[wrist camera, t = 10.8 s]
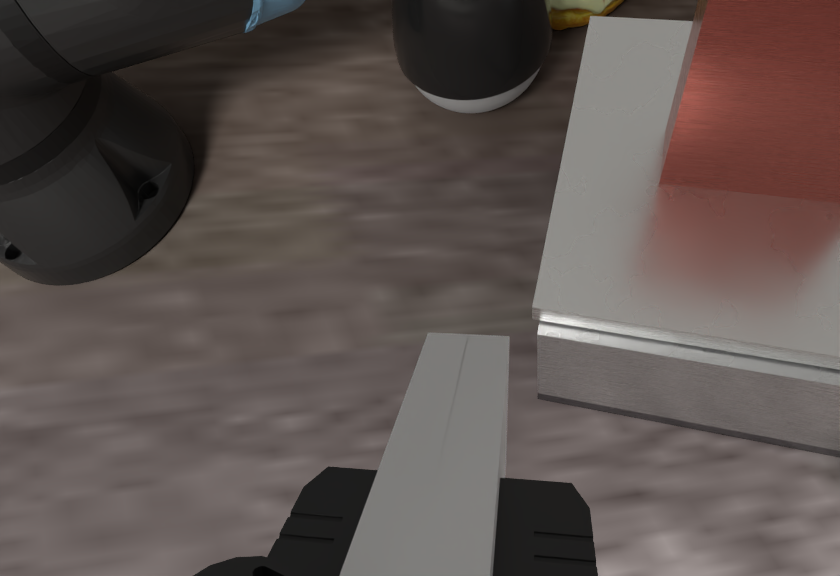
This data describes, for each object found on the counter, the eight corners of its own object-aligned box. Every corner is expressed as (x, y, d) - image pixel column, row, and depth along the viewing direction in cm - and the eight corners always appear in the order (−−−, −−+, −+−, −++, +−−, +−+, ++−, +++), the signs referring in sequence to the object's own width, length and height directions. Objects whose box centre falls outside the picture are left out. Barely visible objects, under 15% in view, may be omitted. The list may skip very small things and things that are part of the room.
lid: (988, 394, 24) (1291, 235, 15) (532, 319, 29) (528, 155, 19) (954, 55, 31) (1145, -210, 21) (588, 34, 35) (607, -197, 25)
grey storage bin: (870, 463, 32) (976, 409, 24) (537, 398, 36) (537, 334, 28) (863, 189, 39) (945, 77, 31) (581, 160, 43) (591, 54, 35)
